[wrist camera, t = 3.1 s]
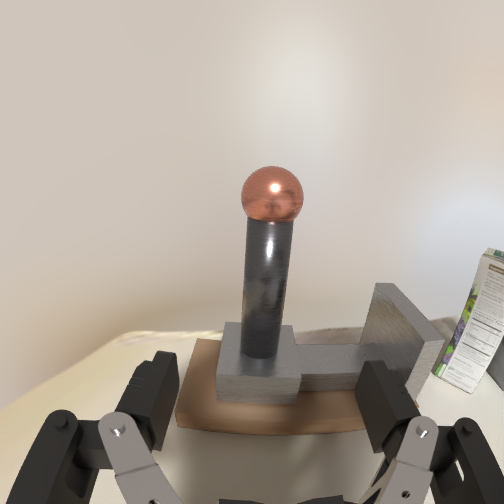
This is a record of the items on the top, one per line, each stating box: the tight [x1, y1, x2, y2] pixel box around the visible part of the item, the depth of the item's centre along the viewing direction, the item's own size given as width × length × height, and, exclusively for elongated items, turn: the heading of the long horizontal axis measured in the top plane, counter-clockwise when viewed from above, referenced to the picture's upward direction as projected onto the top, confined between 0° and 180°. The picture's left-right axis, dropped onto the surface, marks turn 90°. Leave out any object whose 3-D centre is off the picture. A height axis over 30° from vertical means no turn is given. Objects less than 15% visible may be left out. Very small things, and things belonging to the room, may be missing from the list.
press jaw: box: [216, 166, 445, 404], centre depth 20 cm, size 16×10×17 cm, turn 89°
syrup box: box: [435, 248, 504, 394], centre depth 21 cm, size 6×6×14 cm
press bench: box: [175, 336, 504, 435], centre depth 22 cm, size 38×10×9 cm, turn 89°
